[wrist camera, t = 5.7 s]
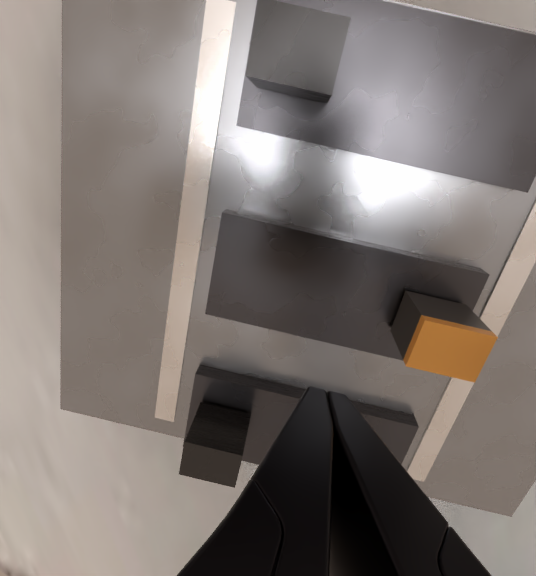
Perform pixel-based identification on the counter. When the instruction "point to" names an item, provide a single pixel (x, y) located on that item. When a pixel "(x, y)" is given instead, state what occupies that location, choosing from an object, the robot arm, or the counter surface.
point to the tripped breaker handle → (441, 336)
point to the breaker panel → (299, 226)
